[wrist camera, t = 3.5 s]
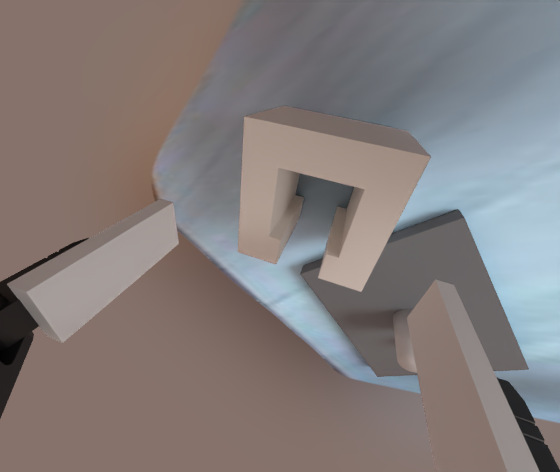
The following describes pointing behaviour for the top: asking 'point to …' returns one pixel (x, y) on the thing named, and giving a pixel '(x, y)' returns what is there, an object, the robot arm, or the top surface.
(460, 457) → the robot arm
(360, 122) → the beige notched hollow block
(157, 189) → the top surface
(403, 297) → the base plate
